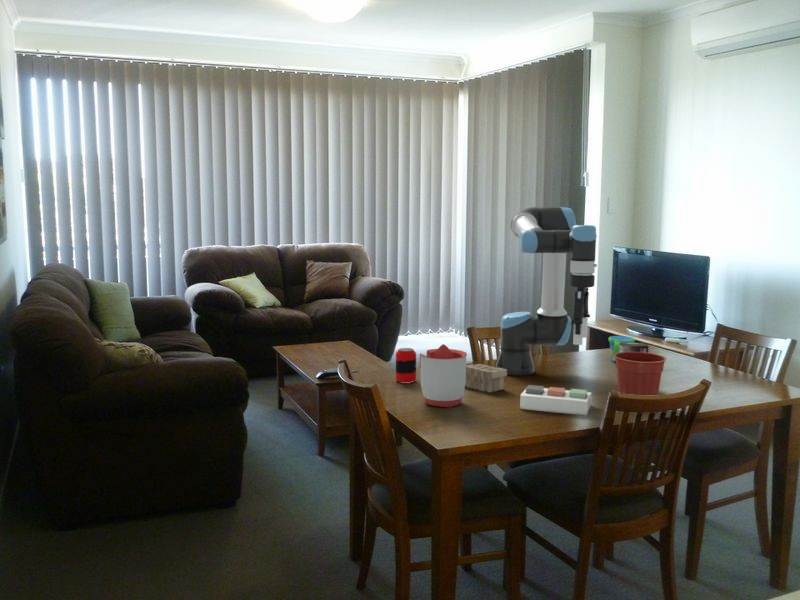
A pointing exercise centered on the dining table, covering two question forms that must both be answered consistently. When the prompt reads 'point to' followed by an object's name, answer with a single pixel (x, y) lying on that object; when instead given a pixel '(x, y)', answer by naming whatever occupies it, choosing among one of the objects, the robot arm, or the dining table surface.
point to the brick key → (556, 391)
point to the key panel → (555, 403)
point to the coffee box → (633, 347)
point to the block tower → (485, 377)
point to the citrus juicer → (443, 376)
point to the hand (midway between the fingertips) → (580, 340)
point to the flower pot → (639, 372)
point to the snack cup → (615, 344)
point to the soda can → (405, 365)
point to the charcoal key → (535, 389)
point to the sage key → (578, 393)
